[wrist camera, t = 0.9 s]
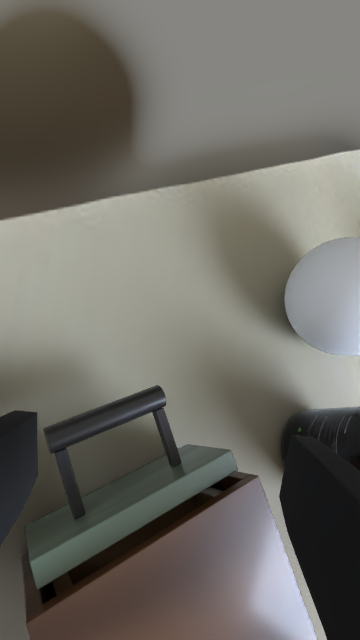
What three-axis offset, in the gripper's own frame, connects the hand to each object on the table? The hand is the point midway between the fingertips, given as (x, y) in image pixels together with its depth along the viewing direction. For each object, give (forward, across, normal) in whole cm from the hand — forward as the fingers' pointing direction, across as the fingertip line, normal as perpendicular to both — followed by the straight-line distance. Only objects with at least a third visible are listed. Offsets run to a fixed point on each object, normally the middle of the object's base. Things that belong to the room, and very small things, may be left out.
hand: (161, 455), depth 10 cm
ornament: (+26, -13, 0) cm, 29 cm away
